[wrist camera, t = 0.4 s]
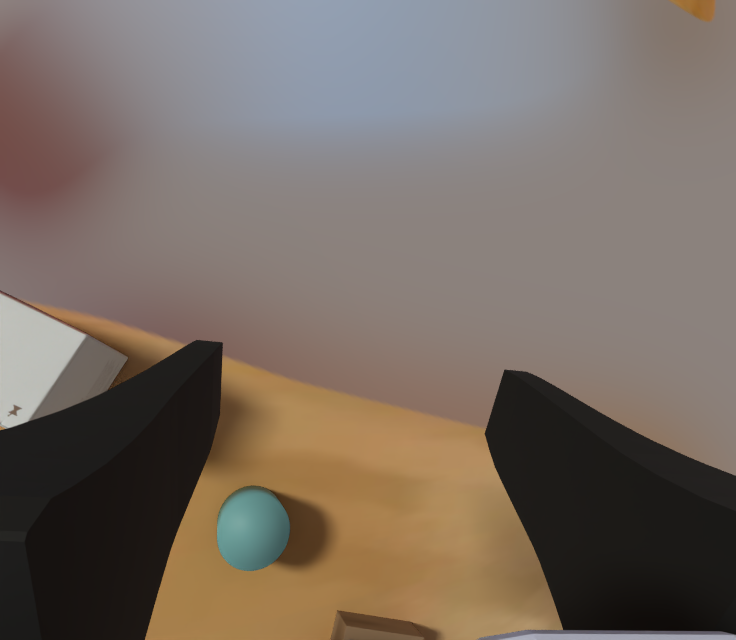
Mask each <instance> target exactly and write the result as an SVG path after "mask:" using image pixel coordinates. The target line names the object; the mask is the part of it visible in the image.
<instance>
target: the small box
mask: <svg viewBox="0 0 736 640" xmlns="http://www.w3.org/2000/svg"><path fill="white" fill-rule="evenodd" d="M127 359H128V357H127V356H125V355H123V354H122V353H120V352H118V351H117V350H115V349H113V348H111V347H109V346H108V345H106V344H104V343H102V342H100V341H99V340H97V339H95V338H94V337H92V336H90V335H89V334H87V333H85V332H83V331H81V330H79V329H77V328H75V327H73V326H71V325H69V324H67V323H65V322H63V321H61V320H59V319H57V318H55V317H53V316H51V315H49V314H47V313H45V312H43V311H41V310H39V309H37V308H35V307H33V306H31V305H29V304H27V303H25V302H23V301H21V300H19V299H17V298H15V297H13V296H11V295H9V294H7V293H4V292H2V291H0V426H2V427H4V428H6V429H7V428H10V427H13V426H16V425H19V424H22V423H25V422H28V421H31V420H34V419H37V418H40V417H43V416H46V415H49V414H52V413H55V412H58V411H61V410H63V409H66V408H68V407H71V406H73V405H76V404H78V403H81V402H83V401H85V400H88V399H90V398H92V397H95V396H97V395H99V394H101V393H103V392H105V391H107V390H108V388H109V387H110V385H111V384H112V382H113V381H114V379H115V378H116V376H117V375H118V373H119V372H120V370H121V368H122V367H123V365H124V364H125V362H126V361H127Z"/></svg>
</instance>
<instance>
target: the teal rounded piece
mask: <svg viewBox="0 0 736 640" xmlns="http://www.w3.org/2000/svg"><path fill="white" fill-rule="evenodd" d="M289 535H290V522H289V518H288V515H287V513H286V511H285V509H284V508H283V506H282V505H281V503H280V502H279V500H278V499H277V497H276V496H275V495H274V494H273V493H272V492H271V491H270V490H268V489H266V488H264V487H260V486H246V487H243V488H240V489H238V490H236V491H235V492H233V493H232V494H231V495H230V496H229V497H228V498H227V499H226V500H225V502H224V503H223V505H222V507H221V509H220V511H219V515H218V521H217V542H218V547H219V550H220V552H221V555H222V556H223V558H224V559H225V560H226V561H227V562H228V563H229V564H230V565H231V566H233V567H235V568H237V569H240V570H244V571H254V570H259V569H262V568H264V567H267V566H268V565H270V564H272V563H273V562H274V561H275V560H276V559H277V558H278V557H279V556H280V555H281V554H282V552H283V551H284V549H285V547H286V545H287V542H288V539H289Z"/></svg>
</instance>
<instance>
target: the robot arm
mask: <svg viewBox="0 0 736 640" xmlns="http://www.w3.org/2000/svg"><path fill="white" fill-rule="evenodd" d="M222 346H223V343H222V342H212V341H201V340H196V341H194V342H192V343H190V344H188V345H187V346H185V347H183V348H182V349H180V350H179V351H177V352H175V353H174V354H172V355H171V356H169V357H167V358H166V359H164V360H162V361H161V362H159V363H157V364H156V365H154V366H152V367H151V368H149V369H147V370H146V371H144V372H142V373H140V374H138V375H136V376H134V377H132V378H131V379H129V380H127V381H125V382H123V383H121V384H119V385H117V386H115V387H114V388H112V389H110V390H108V391H105V392H103V393H101V394H99V395H97V396H95V397H92V398H90V399H88V400H85V401H83V402H81V403H78V404H76V405H73V406H71V407H68V408H66V409H63V410H61V411H58V412H55V413H52V414H49V415H46V416H43V417H40V418H37V419H34V420H31V421H28V422H25V423H22V424H19V425H16V426H13V427H10V428H7V429H4V430H0V640H145V637H146V633H147V630H148V626H149V623H150V619H151V615H152V612H153V608H154V605H155V601H156V598H157V594H158V591H159V587H160V584H161V581H162V577H163V574H164V570H165V567H166V564H167V560H168V557H169V554H170V550H171V547H172V544H173V542H174V539H175V536H176V533H177V531H178V528H179V526H180V523H181V521H182V518H183V516H184V514H185V511H186V509H187V506H188V504H189V501H190V499H191V497H192V494H193V492H194V489H195V487H196V484H197V482H198V480H199V477H200V475H201V472H202V470H203V467H204V465H205V462H206V460H207V457H208V455H209V452H210V450H211V447H212V443H213V439H214V435H215V432H216V428H217V424H218V420H219V416H220V399H221V374H222V348H223V347H222ZM485 436H486V440H487V443H488V447H489V450H490V453H491V456H492V459H493V462H494V465H495V468H496V470H497V472H498V475H499V477H500V479H501V481H502V483H503V485H504V487H505V489H506V491H507V494H508V496H509V498H510V500H511V502H512V504H513V506H514V508H515V510H516V512H517V514H518V516H519V518H520V520H521V522H522V524H523V526H524V528H525V530H526V533H527V535H528V537H529V539H530V541H531V543H532V545H533V547H534V550H535V552H536V554H537V557H538V559H539V561H540V564H541V567H542V569H543V572H544V575H545V578H546V580H547V583H548V586H549V589H550V591H551V594H552V597H553V600H554V603H555V606H556V609H557V612H558V615H559V618H560V621H561V624H562V627H563V630H523V631H517V632H511V633H505V634H499V635H493V636H487V637H481V638H479V639H477V640H736V476H734V475H732V474H729V473H727V472H724V471H722V470H719V469H717V468H714V467H711V466H709V465H706V464H704V463H701V462H699V461H697V460H694V459H692V458H689V457H687V456H685V455H683V454H680V453H678V452H676V451H674V450H672V449H670V448H667V447H665V446H663V445H661V444H659V443H657V442H654V441H652V440H650V439H648V438H646V437H644V436H642V435H640V434H638V433H636V432H635V431H633V430H631V429H629V428H627V427H625V426H623V425H622V424H620V423H618V422H616V421H614V420H612V419H611V418H609V417H607V416H605V415H603V414H602V413H600V412H598V411H597V410H595V409H593V408H591V407H590V406H588V405H586V404H585V403H583V402H581V401H579V400H578V399H576V398H574V397H573V396H571V395H569V394H568V393H566V392H564V391H563V390H561V389H559V388H557V387H556V386H554V385H552V384H550V383H548V382H547V381H545V380H543V379H541V378H539V377H537V376H535V375H533V374H531V373H528V372H523V371H513V370H504V373H503V376H502V380H501V383H500V386H499V390H498V392H497V396H496V399H495V402H494V405H493V409H492V412H491V415H490V419H489V422H488V425H487V428H486V431H485Z"/></svg>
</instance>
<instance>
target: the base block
mask: <svg viewBox="0 0 736 640" xmlns="http://www.w3.org/2000/svg"><path fill="white" fill-rule="evenodd" d="M349 639H350V640H424V637H423V635H422V634H421V633H420V632H419V631H418V630H417V629H416V628H415V627H414V626H413V625H412V623H411V622H409V621H402V620H396V619H389V618H383V617H376V616H370V615H363V614H357V613H351V612H344V611H338V610H337V613H336V618H335V622H334V626H333V631H332V635H331V640H349Z"/></svg>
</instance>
